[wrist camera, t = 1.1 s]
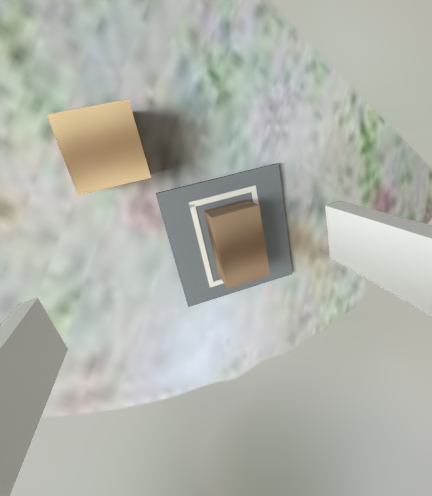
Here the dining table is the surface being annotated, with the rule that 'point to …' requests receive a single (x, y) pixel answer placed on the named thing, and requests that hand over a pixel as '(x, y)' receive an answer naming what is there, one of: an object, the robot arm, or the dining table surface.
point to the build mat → (197, 236)
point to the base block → (238, 242)
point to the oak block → (100, 146)
